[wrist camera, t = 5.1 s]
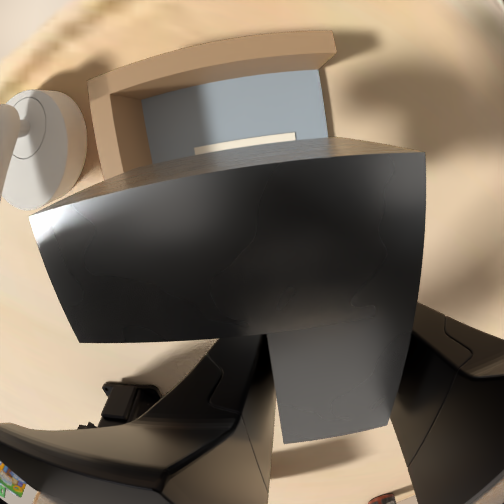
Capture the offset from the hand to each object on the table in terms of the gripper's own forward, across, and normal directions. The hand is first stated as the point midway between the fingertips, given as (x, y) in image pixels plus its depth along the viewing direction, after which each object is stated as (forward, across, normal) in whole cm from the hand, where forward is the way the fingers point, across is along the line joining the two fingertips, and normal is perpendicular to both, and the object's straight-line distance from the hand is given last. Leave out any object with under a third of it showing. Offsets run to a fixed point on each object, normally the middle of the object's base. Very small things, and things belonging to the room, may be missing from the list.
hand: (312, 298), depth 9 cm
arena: (+11, +3, -3) cm, 12 cm away
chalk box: (+11, +75, +54) cm, 93 cm away
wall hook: (+11, +17, -7) cm, 21 cm away
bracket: (+1, +2, -2) cm, 3 cm away
